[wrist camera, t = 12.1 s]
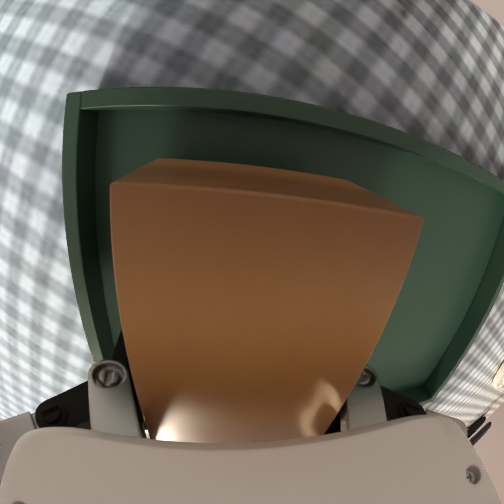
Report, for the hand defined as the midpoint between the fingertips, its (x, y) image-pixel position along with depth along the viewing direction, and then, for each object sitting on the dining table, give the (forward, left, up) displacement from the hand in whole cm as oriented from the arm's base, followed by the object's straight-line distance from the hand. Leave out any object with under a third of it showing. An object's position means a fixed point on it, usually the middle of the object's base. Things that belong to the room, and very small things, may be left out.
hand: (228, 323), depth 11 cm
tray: (-5, 0, -1) cm, 6 cm away
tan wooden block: (0, 0, -1) cm, 1 cm away
